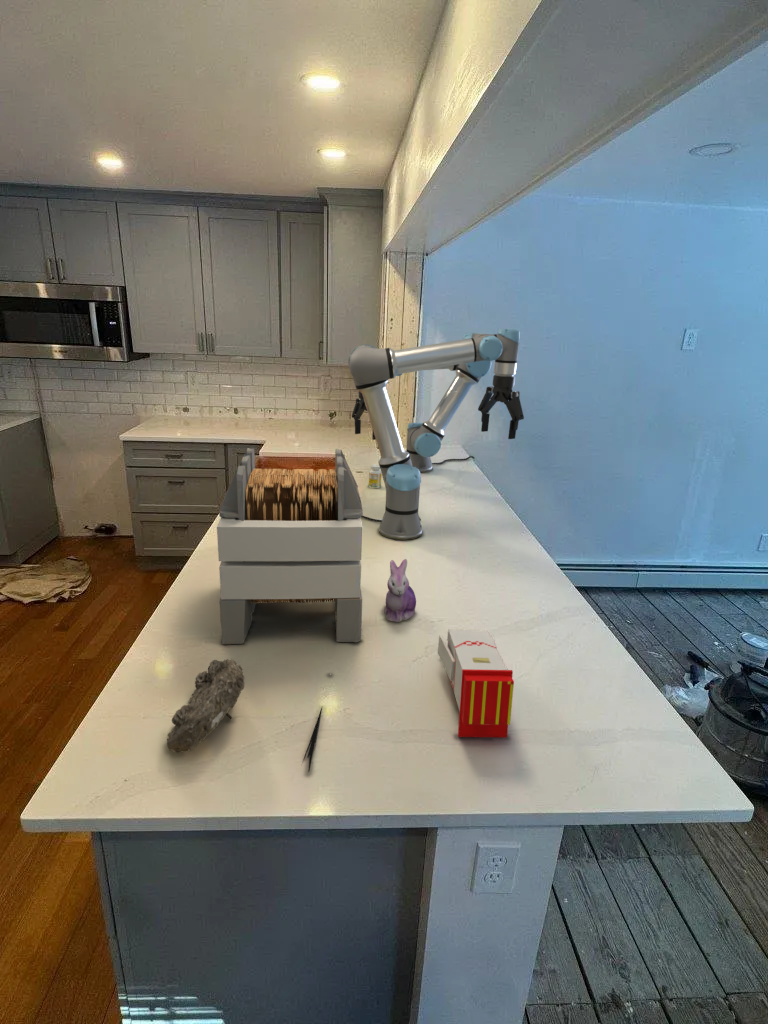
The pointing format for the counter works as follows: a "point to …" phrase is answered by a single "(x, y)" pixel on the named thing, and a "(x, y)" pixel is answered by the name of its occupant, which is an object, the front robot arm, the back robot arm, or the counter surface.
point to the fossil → (206, 705)
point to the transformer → (290, 544)
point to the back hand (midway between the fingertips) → (366, 436)
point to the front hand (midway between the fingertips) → (497, 435)
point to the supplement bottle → (375, 477)
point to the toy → (478, 682)
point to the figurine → (399, 594)
